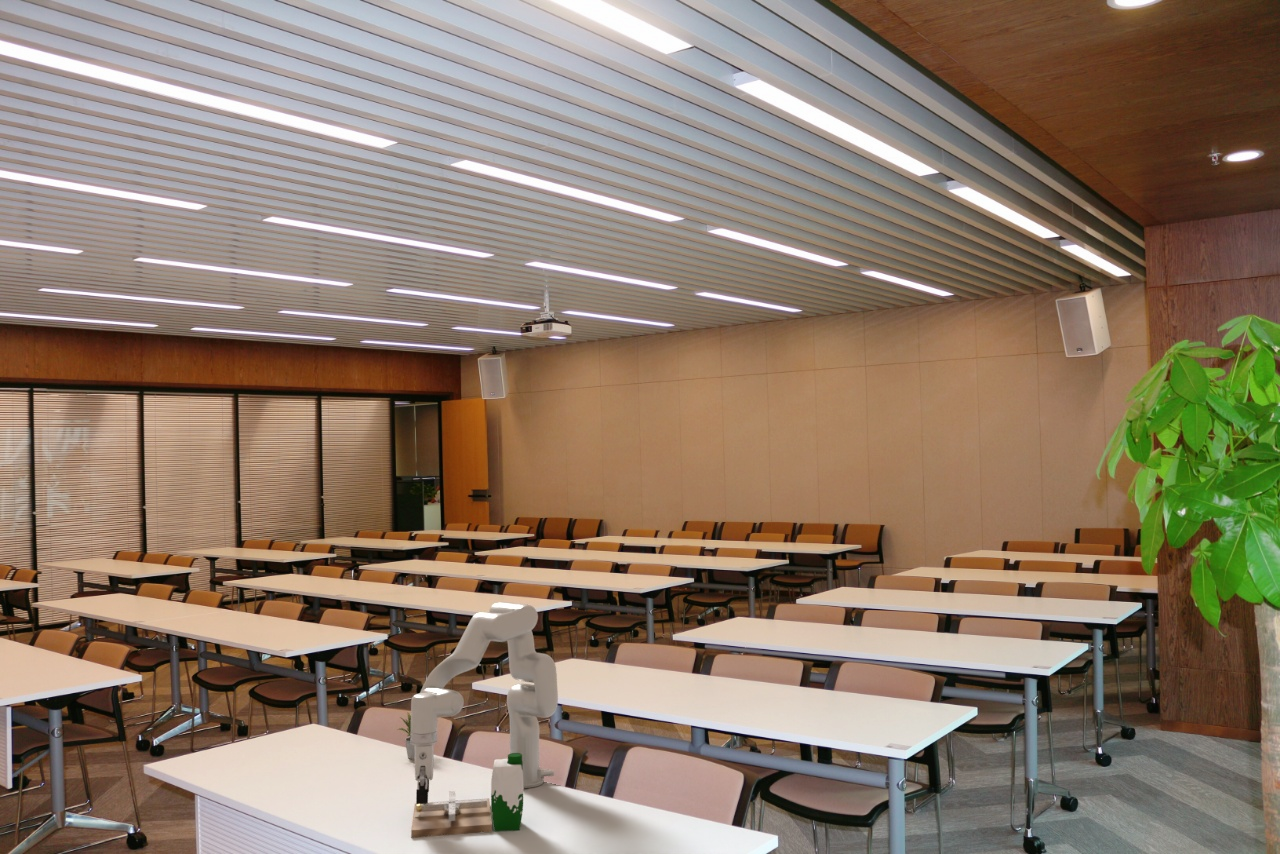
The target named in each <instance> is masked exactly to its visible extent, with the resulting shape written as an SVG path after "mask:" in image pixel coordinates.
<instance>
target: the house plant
mask: <svg viewBox="0 0 1280 854" xmlns="http://www.w3.org/2000/svg"><path fill="white" fill-rule="evenodd" d="M399 719H401V720H402V721H403V723H404V724H405V725H406V727H407V728H406V729H405V728H403V727H399V728H397V731H403V732H405V733H407V737H406V738H405V739H404V743H405V747H406V748H405V750H406V755H407V758H408V759H409V760H410V759H411V760H412V759H413V760H415V745H412V744H410V739H411V713H409V712H408V711H407V719H406V718H405V719H404V718H402V717H399Z"/></svg>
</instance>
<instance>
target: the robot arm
mask: <svg viewBox="0 0 1280 854" xmlns="http://www.w3.org/2000/svg"><path fill="white" fill-rule="evenodd" d="M538 620H539V614H538V611H537V609H536V608H535V607H534V606H532V605H530V604H526V603H515V602H505V601H500V602H495V603H493V604H492V605H491V606H490V608H489V612H486V611H481V612H477V613H475V614H473V616H472V617H471V619H469V622H468V625H467V626H466V628H465V630H464V632H463V634H462V636H461V638H460V640H459V641H458V643H457V645H456V647H455V649H454V651H453V652H452V653H451V654H450V655H449V656H448V657H446V658H444V660H443V661H441V662H439V664H437V665H436V666H435V667H434V668H433V670H431V672H430V673H429V674H428V676H427V677H426V680H425V681H424V683H423V685H422V688H421V689H420V692H419V693H416V694H413V695H412V698H411V703H410V716H411V739H410V744H412V745H415V759H414V777H415V781H416V782H417V787H416V797H415V798H416V801H415V804H427V803H429V792H430V781H432V780H433V779H434V761H435V760H434V754H435V753H434V751H435V750H434V748H435V747H434V745H436V743H438V718H442V717H443V718H447V717H454V716H457V714H459V713H460V712H461V711H462V710H463V708H464V704H465V701H464V700H465V699H464V697H463V695H462V694H461V693H460V692H459V691H457V690H453V689H448V688H445V687H446V686H447V684H448V683H449V682H450V681H451V680H452V679H454V677H456V676H458V675H460V674H463V673H466V672H468V671H471V670H473V669H475V668H477V667H478V666H479V665H480V662H481V661H482V659H483V657H484V654H485V653H486V651H487V649H488V647H489V644H490V643H491V642H496V643H499V642H500V643H504V642H507V650H508V651H507V652H508V665H509V673H510V676H511V677H512V678H513V679H514V680H517V681H521V682H522V683H517V684H515V685H512V686H511V687H510V688H509V690H508V692H507V695H506V705H507V710H508V716H509V754H511V753H520V754H522V762H523V766H522V768H523V789H532V788H537V787H539V786H541V785H543V784H544V783H545V777H554V774H555V773H554V772H555V771H554V769H550V768H541V765H540V724H539V720H538V718H545V719H546V718H550V717H552V716H554V714H555V712H556V710H557V708H558V704H559V701H558V700H559V693H558V676H557V675H558V674H557V667H556V663H555V661H554V659H553V658H552V657H551V655H549V654H547V653H541V652H537V651H536V649H535V640H534V639H535V638H534V635H533V631H532V630H533V629H534V628H535V627H536V625H537V623H538ZM523 682H526V683H523ZM530 683H531V684H530Z"/></svg>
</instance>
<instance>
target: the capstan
mask: <svg viewBox="0 0 1280 854" xmlns="http://www.w3.org/2000/svg"><path fill="white" fill-rule="evenodd" d="M478 799H479V800H473V799H463V800H464V801H459V800H457V799H456V790H452V791H450V790H449V791H448V800H446V802H445V801H434V802H435V803H430V802H428V803H427V804H417V805H416V807H415V809H416V811H417V812H428V811H442V810H443V814H444V815H446V816H449V821H455V815H459V814H460V813H461V809H470V808H484V807H487V799H488V798H478Z"/></svg>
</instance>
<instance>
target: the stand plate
mask: <svg viewBox="0 0 1280 854" xmlns="http://www.w3.org/2000/svg"><path fill="white" fill-rule="evenodd" d="M479 799H480V798H478V799H477V798H476V799H472V800H479ZM486 799H487V807H484V808H470V809H461V813H460V814H459V815H455V821H449V816H446V815H444V814H443V810H442V811H428V812H417V811H416V809H415V807H416V805H417V804H416V803H414V806H413V808H414V809H413V816H412V821H411V828H410V829H411V831H410V832H411V833H410V834H411V835H410V837H411V839H412V838H424V837H437V836H452V835H465V834H476V833H477V834H478V833H480V834H481V833H491V832H492V831H493V820H492V812H491V801H490V798H486ZM464 800H465V799H462V800H458V801H464ZM446 801H447V800H446ZM446 801H444V802H446ZM435 802H436V801H432V802H429V803H435Z"/></svg>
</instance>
